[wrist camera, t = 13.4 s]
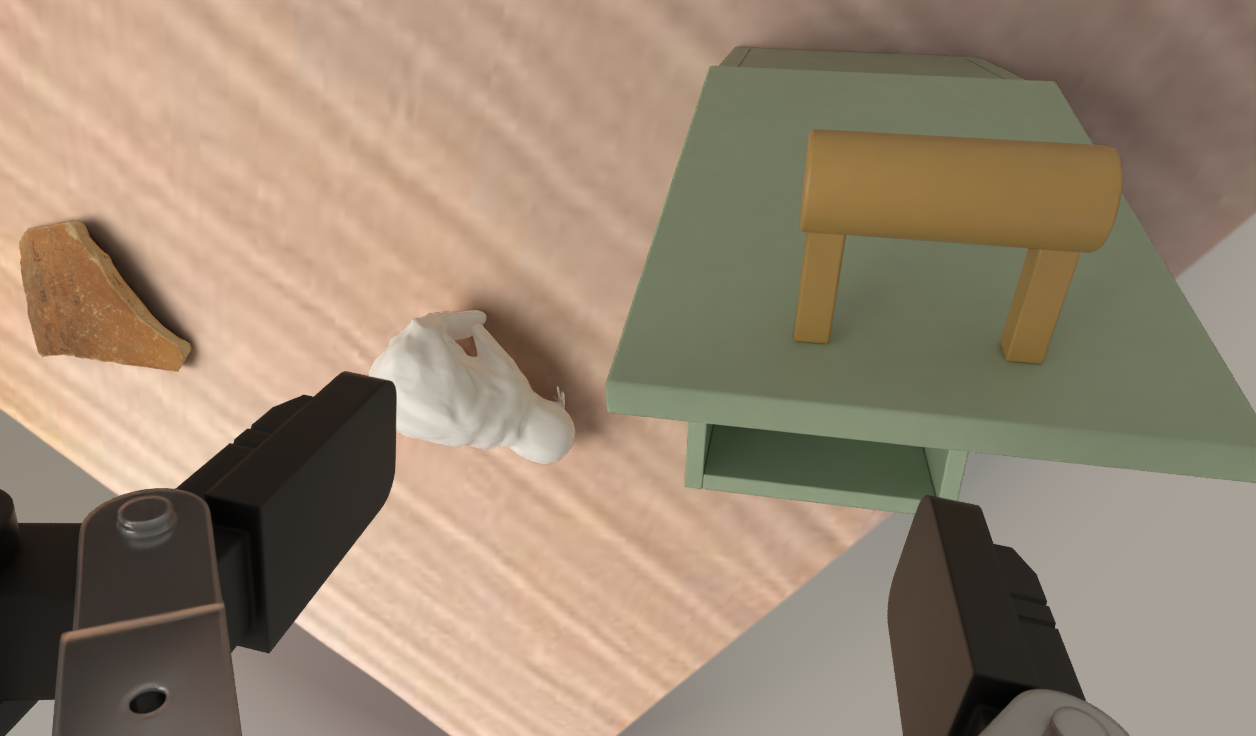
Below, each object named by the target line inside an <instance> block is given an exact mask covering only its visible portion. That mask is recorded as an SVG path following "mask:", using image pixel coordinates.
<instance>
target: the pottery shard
mask: <svg viewBox="0 0 1256 736" xmlns="http://www.w3.org/2000/svg"><path fill="white" fill-rule="evenodd" d="M19 249H20V253H21V262H20V264H21V273H22V281H23V287H24V291H25V294H26V297H27V303H28V316H29V320H30V323H31V327H32V331H33V335H34V338H35V342H36V346H37V349H38V353H39V354H40V356H42V357H44V356H53V355H70V356H75V357H78V358H88V359H96V360H99V361H104V362H115V363H119V364H123V365H133V366H141V367H149V368H155V369H162V370H169V371H177V372H178V371H179V369H180V368H181V366H182V365H183V363H184V361H185V360H186V358H187V356H188V354H189V352H190V351H191V345H190V343H189V342H187V341H185V340H183V339H181V338H179V337H178V336H176V335H174V334H173V333H172V332H170V331H169V330H168V329H166V328H165V327H164V326H163V325H161V324H160V323H159V321H158V320H157V319H155V318H154V317H153V315H152V314H151V313H150V312H149V310H148V309H147V308H146V306H145V305H144V304H143V303H142V301H141V300H140V299H139V298H138V296H137V295H136V294H135V293H134V292H133V291H132V289H131V288H130V287H129V286H128V285H127V284H126V282H125V281H124V280H123V278H122V277H121V276H120V274H119V272H118V271H117V269H116V268H115V267H114V265H113V264H112V260H111V258H110V256H109V255H108V254H106V253H105V252H103V251H102V250H101V249H100V248H99V247H98V246H97V245H96V243H95V242H94V241H93V240H92V239H91V238H90V236H89V233H88V230H87V228H86V226H85V225H84V224H83V222H82V221H80V220H76V221H69V222H66V223H60V224H57V225H52V226H46V227H41V228H28V229H27V231H26V232H25V233H24V235H23V236H22V238H21V240H20V243H19Z"/></svg>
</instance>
